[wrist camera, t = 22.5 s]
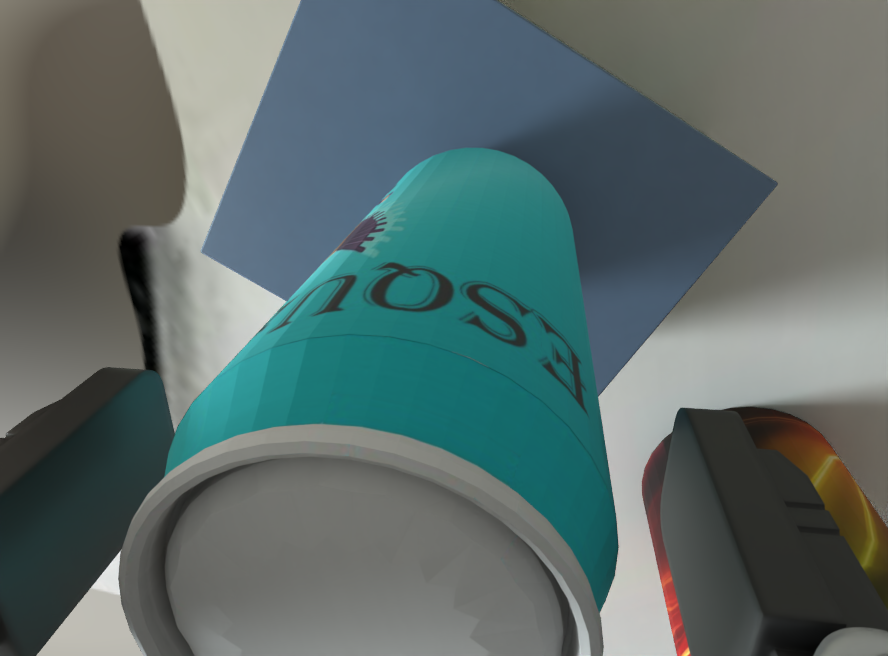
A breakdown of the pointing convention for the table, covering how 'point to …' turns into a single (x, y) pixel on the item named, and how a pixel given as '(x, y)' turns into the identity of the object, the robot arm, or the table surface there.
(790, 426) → the mug
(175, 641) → the beverage can
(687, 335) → the table surface
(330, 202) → the box lid
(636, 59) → the table surface
